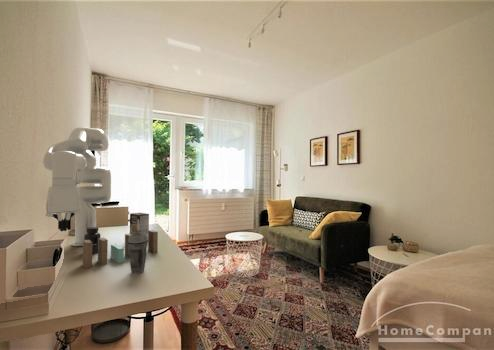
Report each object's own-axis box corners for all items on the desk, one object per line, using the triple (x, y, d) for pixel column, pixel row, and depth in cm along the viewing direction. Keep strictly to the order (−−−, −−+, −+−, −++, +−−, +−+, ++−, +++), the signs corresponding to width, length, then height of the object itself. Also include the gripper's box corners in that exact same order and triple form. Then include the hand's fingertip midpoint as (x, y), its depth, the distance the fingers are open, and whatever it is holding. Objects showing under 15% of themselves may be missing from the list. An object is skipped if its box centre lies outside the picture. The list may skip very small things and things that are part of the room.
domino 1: (82, 264, 99) (83, 240, 99) (88, 263, 100) (88, 239, 101) (86, 268, 95) (86, 243, 95) (92, 267, 96) (92, 242, 96)
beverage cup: (127, 276, 87) (128, 221, 87) (127, 269, 93) (127, 218, 94) (148, 273, 90) (149, 220, 90) (147, 266, 97) (147, 217, 97)
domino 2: (97, 261, 103) (98, 238, 103) (103, 260, 104) (103, 237, 105) (101, 264, 99) (102, 240, 99) (107, 263, 100) (107, 239, 100)
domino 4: (148, 250, 119) (148, 230, 119) (152, 249, 120) (152, 229, 120) (153, 253, 115) (153, 232, 115) (157, 252, 116) (157, 231, 116)
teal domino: (118, 263, 101) (110, 257, 108) (123, 262, 102) (115, 256, 109) (118, 249, 101) (110, 244, 108) (123, 248, 103) (115, 243, 109)
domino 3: (124, 255, 111) (125, 234, 111) (129, 254, 112) (129, 233, 112) (129, 258, 107) (129, 236, 107) (134, 257, 108) (134, 235, 108)
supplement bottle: (91, 255, 111) (92, 229, 111) (79, 254, 112) (80, 229, 113) (103, 251, 118) (103, 226, 118) (91, 250, 119) (92, 226, 119)
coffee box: (129, 242, 135) (129, 213, 135) (139, 239, 140) (139, 212, 141) (138, 244, 130) (139, 214, 130) (149, 241, 135) (149, 213, 136)
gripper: (84, 183, 100) (83, 226, 100) (37, 183, 90) (36, 232, 89) (89, 183, 95) (88, 229, 94) (40, 183, 84) (38, 235, 84)
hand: (63, 230), depth 92 cm, fingers closed
